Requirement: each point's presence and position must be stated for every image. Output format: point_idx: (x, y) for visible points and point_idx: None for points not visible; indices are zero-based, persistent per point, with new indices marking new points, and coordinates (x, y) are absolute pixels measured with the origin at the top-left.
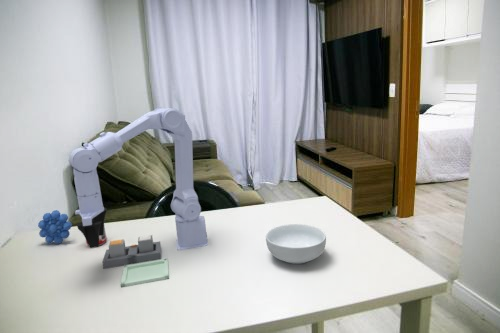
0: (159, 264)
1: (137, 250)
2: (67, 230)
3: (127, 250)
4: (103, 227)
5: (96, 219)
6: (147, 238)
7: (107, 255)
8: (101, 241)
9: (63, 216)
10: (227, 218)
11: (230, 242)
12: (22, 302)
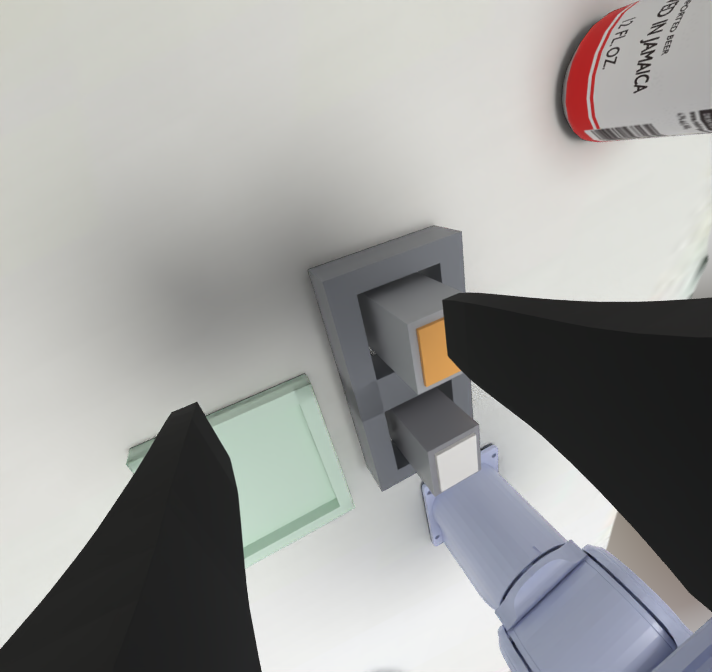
0: (328, 487)
1: None
2: None
3: None
4: (502, 403)
5: (608, 421)
6: (447, 478)
7: (394, 273)
8: (582, 127)
9: None
10: (576, 500)
11: (440, 576)
12: None
